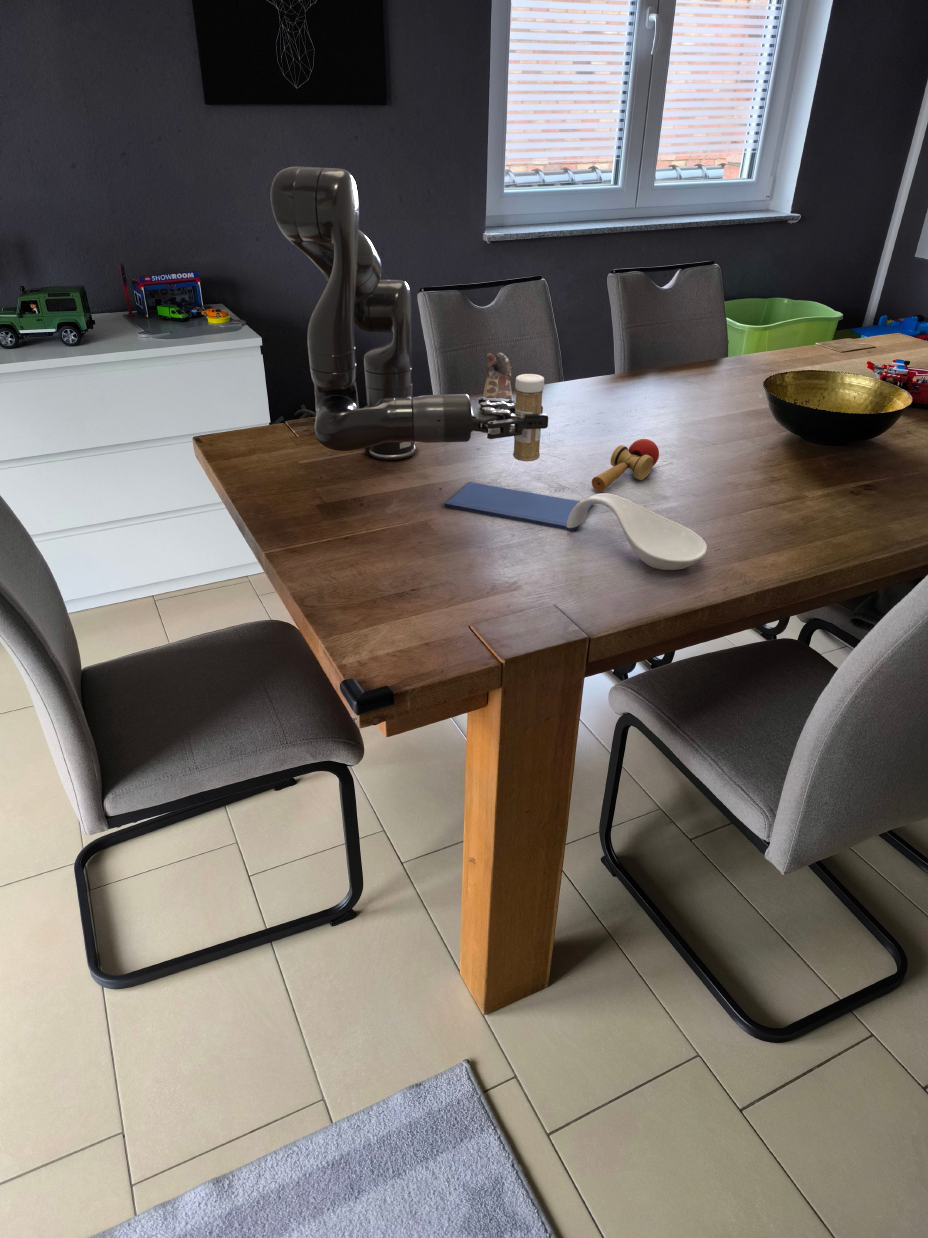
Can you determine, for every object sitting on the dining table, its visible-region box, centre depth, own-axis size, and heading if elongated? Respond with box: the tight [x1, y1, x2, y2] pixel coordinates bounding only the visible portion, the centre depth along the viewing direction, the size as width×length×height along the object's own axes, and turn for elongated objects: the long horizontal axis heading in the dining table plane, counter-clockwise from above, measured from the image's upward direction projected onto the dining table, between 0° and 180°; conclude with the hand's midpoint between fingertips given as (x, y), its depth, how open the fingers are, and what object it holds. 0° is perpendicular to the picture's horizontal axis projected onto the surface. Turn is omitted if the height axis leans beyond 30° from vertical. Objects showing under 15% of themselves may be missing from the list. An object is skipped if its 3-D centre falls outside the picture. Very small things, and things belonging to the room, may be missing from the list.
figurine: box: [482, 352, 514, 408], centre depth 194 cm, size 7×7×12 cm
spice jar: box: [512, 373, 545, 462], centre depth 136 cm, size 5×5×14 cm
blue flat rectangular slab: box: [444, 481, 594, 531], centre depth 148 cm, size 24×11×1 cm, turn 66°
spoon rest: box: [566, 492, 708, 571], centre depth 132 cm, size 24×12×7 cm, turn 48°
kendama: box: [591, 438, 660, 493], centre depth 158 cm, size 8×6×18 cm
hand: (544, 415), depth 136 cm, fingers closed on spice jar, 4 cm apart
